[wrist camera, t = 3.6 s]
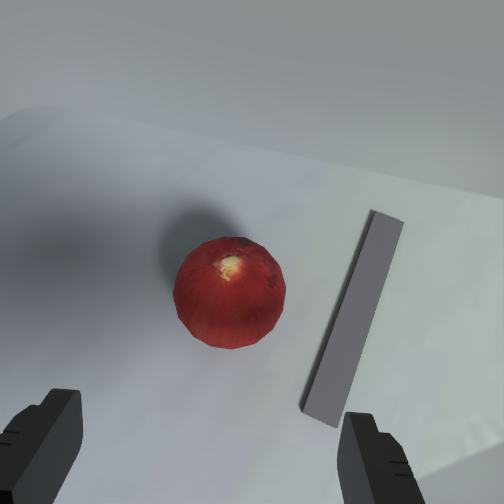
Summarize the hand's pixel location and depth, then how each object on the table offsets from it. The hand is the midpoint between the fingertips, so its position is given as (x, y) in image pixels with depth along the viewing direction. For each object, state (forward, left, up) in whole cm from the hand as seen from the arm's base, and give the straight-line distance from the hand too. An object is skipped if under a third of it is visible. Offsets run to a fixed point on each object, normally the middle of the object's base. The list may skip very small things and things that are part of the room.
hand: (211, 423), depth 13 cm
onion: (-2, +7, -11) cm, 13 cm away
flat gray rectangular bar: (+5, +10, -11) cm, 16 cm away
